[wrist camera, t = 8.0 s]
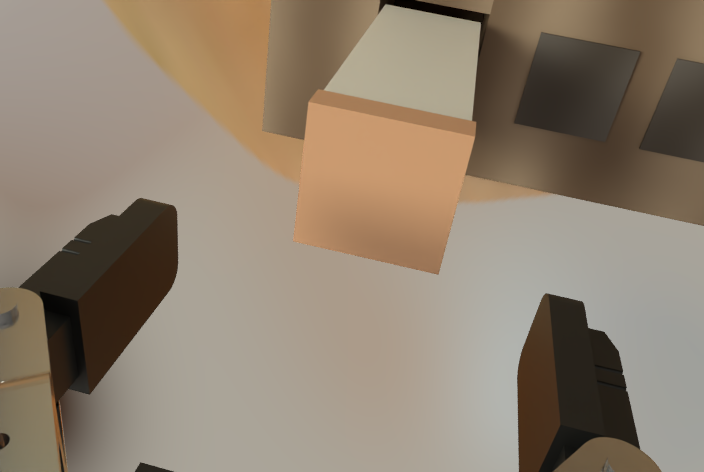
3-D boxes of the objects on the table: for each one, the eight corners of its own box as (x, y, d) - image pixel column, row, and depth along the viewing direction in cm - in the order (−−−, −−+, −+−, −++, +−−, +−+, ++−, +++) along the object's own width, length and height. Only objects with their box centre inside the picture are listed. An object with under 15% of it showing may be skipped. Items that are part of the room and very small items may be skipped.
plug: (483, 20, 26) (475, 136, 15) (460, 116, 28) (438, 274, 18) (383, 1, 26) (308, 101, 16) (368, 97, 28) (293, 241, 18)
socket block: (785, -23, 29) (849, 6, 23) (690, 174, 34) (725, 232, 29) (314, -107, 30) (276, -98, 25) (295, 91, 36) (261, 132, 31)
